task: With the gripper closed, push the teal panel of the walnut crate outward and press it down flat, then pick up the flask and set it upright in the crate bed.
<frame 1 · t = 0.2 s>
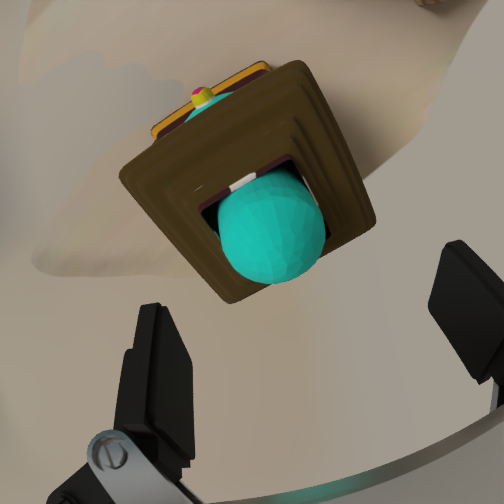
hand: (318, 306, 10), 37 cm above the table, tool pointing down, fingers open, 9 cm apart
decorative lantern: (237, 140, 43), on the table
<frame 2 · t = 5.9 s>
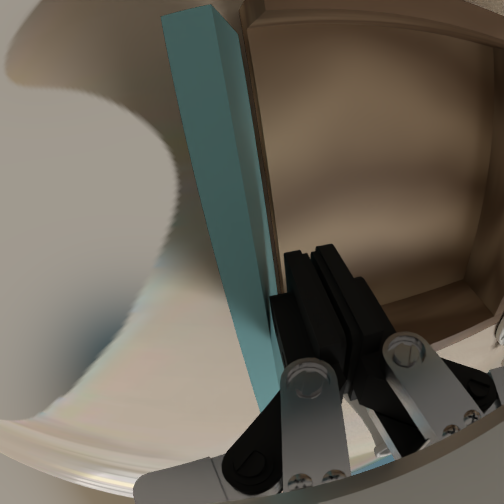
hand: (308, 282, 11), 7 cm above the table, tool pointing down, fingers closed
crate: (398, 177, 17), on the table
teal panel: (254, 258, 12), point 5 cm above the table, hinge at 9.3°, touching gripper
flask: (353, 350, 26), on the table
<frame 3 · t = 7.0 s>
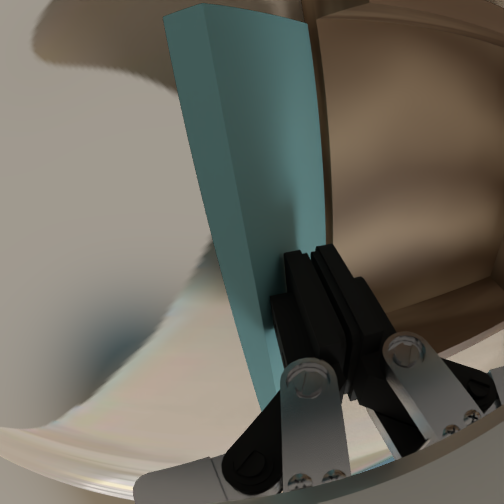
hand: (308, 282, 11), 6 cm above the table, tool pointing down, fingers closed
crate: (440, 176, 16), on the table
teal panel: (289, 253, 12), point 4 cm above the table, hinge at 33.2°, touching gripper
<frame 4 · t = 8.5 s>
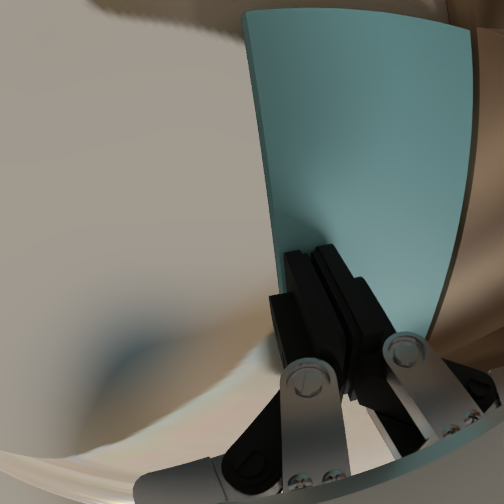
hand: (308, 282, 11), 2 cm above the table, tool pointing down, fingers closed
teal panel: (374, 256, 11), point 1 cm above the table, hinge at 89.0°
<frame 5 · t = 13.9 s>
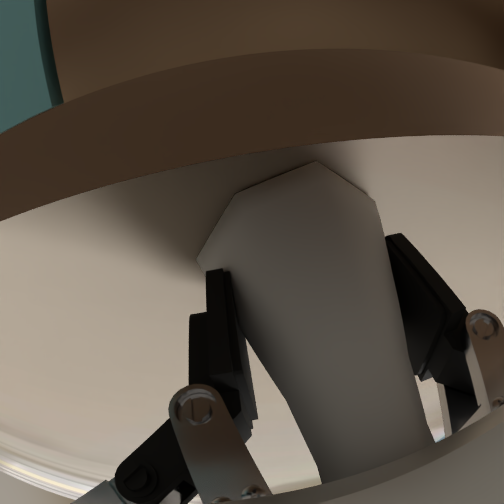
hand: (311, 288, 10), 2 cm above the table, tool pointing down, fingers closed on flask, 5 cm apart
flask: (295, 252, 12), on the table, touching gripper
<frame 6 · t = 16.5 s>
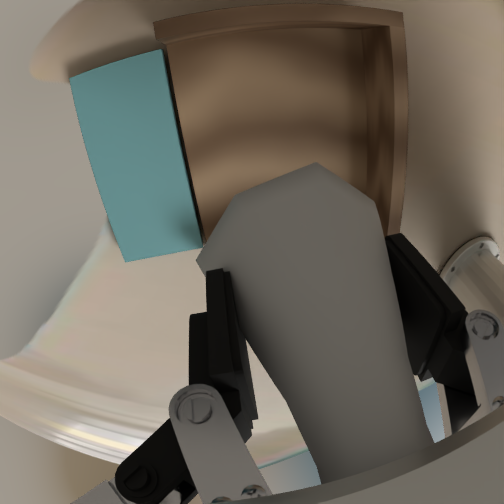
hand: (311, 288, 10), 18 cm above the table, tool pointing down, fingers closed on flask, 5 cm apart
crate: (284, 133, 24), on the table
teal panel: (137, 163, 23), point 1 cm above the table, hinge at 89.1°
flask: (295, 252, 12), point 15 cm above the table, touching gripper
when the fingers open (5 cm above the table, at t = 19.4 s): flask drops 1 cm, resting on crate.
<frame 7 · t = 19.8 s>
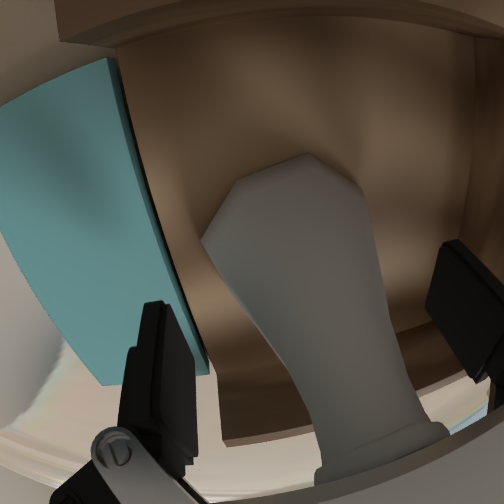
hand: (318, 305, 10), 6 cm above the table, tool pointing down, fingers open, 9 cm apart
crate: (341, 209, 15), on the table
teal panel: (91, 269, 13), point 1 cm above the table, hinge at 89.1°
flask: (290, 235, 13), point 1 cm above the table, touching crate
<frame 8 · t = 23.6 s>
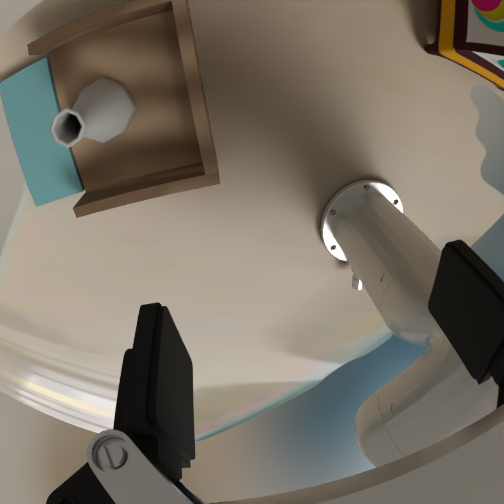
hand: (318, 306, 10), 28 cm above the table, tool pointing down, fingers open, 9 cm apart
crate: (131, 99, 29), on the table
teal panel: (38, 134, 28), point 1 cm above the table, hinge at 89.1°
flask: (104, 109, 28), point 1 cm above the table, touching crate
decorative lantern: (468, 20, 26), on the table
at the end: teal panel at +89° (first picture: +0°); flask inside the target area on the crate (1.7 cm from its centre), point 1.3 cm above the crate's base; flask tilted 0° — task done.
